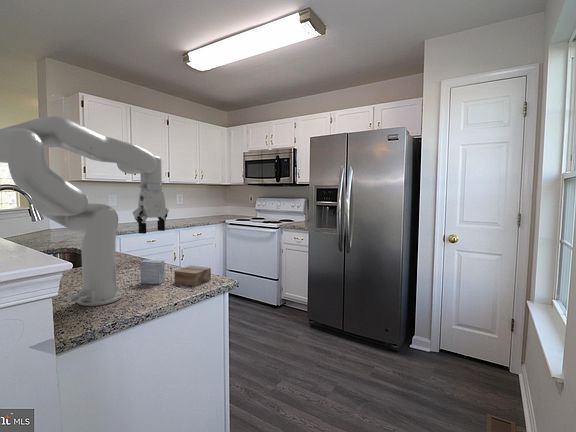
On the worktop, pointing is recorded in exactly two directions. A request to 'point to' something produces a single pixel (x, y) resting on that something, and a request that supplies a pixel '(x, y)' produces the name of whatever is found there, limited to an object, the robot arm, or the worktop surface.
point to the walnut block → (192, 275)
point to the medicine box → (152, 271)
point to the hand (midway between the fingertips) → (152, 231)
